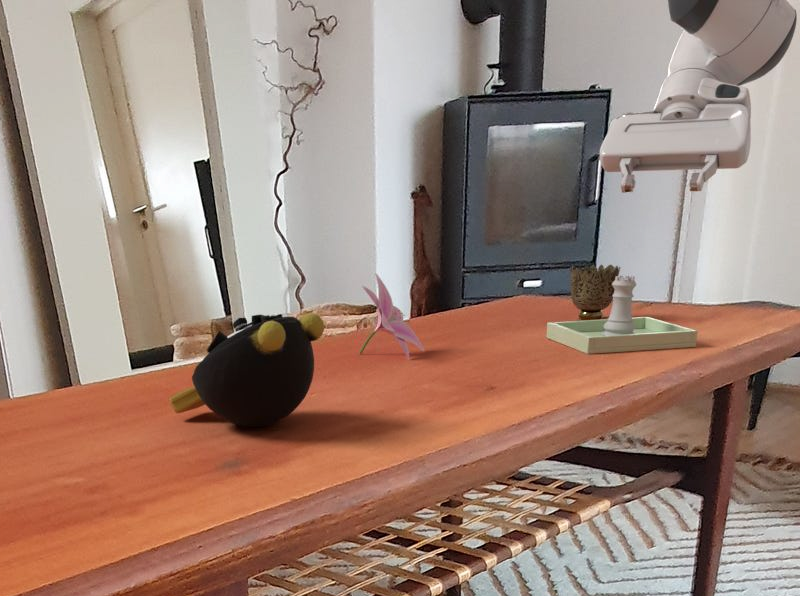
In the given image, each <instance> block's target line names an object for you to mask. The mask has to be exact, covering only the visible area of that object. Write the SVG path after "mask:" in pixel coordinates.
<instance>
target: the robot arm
mask: <svg viewBox="0 0 800 596" xmlns="http://www.w3.org/2000/svg"><path fill="white" fill-rule="evenodd" d="M667 9H668V16H669V20H670V21H671V22H672V23H673V24H675V25H676V26H678V27H679V28H681V30H683V32H682V33H681V35H680V37H679V39H678V41H677V44H676V46H675V48H674V51H673V53H672V55H671V59H670V61H669V63H668V71H667V72H668V73H667V76H666V78H665V79H664V81H663V82H662V85H661V87H660V91H659V93H658V97H657V100H656V103H655V105H654V108H653V110H652V111H651V110H649V111H640V112H625V113H623V114H622V115H621V116H618V117H616V118H614V119H612V120H611V122H610V124H609V127H608V130H607V133H606V135H605V137H604V140H603V141H602V143H601V146H600V148H599V161H600V164H601V167H602V169H603V170H604V171H605V172H606V173H620V174H621V178H622V180H621V182H620V190H621V193H634V189H635V188H636V185H637V184H636V180H635V179H636V177H635V174H633V172H655V171H656V172H657V171H658V172H659V171H661V172H663V171H694V170H697V171H698V170H699V172H692V173H691V176H690V177H691V178H690V180H689V183H688V185H689V192H702V190H703V188H704V184H705V183H706V182H707V181H708V180H710V179H711V178H712V177H713V176H714V175H715V174H716V173H717V171H718V170H727V169H728V170H730V169H732V170H733V169H739V168H741V167H742V166H744V165H745V164H746V163H747V162H748V159H749V155H750V150H751V141H752V126H751V124H752V123H751V118H752V103H751V96H750V95H751V94H750V90H749V88H747V87H745V86H743V85H746V84H749V83H751V82H754V81H757V80H759V79H761V78H762V77H764V76H766V75H767V74H768V73H769V72H771V71H772V70H773V69H774V68H776V67H777V65H779V64H780V62H781V61H782V59H783V58H784V56H785V55H786V53H787V52H788V50H789V48H790V45H791V43H792V40H793V37H794V35H795V32H796V27H797V20H798V19H797V18H798V15H797V10H796V9H795V8H794V7H793V6H792V4H791V3H790V2H789V1H788V0H667Z"/></svg>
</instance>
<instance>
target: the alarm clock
mask: <svg viewBox="0 0 800 596" xmlns="http://www.w3.org/2000/svg"><path fill="white" fill-rule="evenodd" d="M232 327H233V329H234V330H235V331H234V332H232V333H231V334H229V335H226V334H225V333H223V332H222V331H220V330H219V331H218V332H217V334H216V335H215V336H214V338H213V339H212V340H211V342H210V344H209V345H208V347H207V349H206V352H207V354H206V355H205V356H204V358H203V359H202V360H201V361H200V362H199V363H198V364H197V365H196V366H195V368H194V370H193V374H192V375H191V380H192V384H193V386H191V387H189V388H186V389H184V390H183V391H181V392H179V393H176V394H175V395H173V396H171V397H169V403H170V406H171V408H172V410H173V411H174V412H175V413H176V414H181V413H186V412H188V411H192V410H196V409H199V408H201V407H204V406H206V407H207V409H209V410H210V411H212V413H214V414H215V415H217V417H219V418H221V419H222V420H224V421H227V422H228V423H231V424H234V425H237V426H242V427H248V428H249V427H263V426H268V425H272V424H275V423H277V422H279V421H281V420H283V419H285V418H287V417H288V416H289V415H290V414H292V413H293V412H294V411H295V410H297V408H298V407H299V406H300V405H301V404H302V402H303V401H304V399H305V398H306V397H307V395H308V393H309V391H310V389H311V385H312V382H313V378H314V372H315V356H314V348H313V344H312V342H314V341H318V340H319V339H320V338H321V337H322V336H323V334H324V331H325V325H324V320H323V319H322V318H321V316H320V315H319V314H317V313H314V312H310V313H304V314H303V315H302V317H300V319H298V318H297V317H295V316H283V314H282V313H279V314H276V315H275V314H272V315H270V314H267V315H264V314H254V315H251V322H248V319H247V318H246V317H238V318H237V319H236V320H235V321H234V322H232Z"/></svg>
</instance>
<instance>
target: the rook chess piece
mask: <svg viewBox="0 0 800 596" xmlns="http://www.w3.org/2000/svg"><path fill="white" fill-rule="evenodd" d="M635 279H636V278H635V276H634V275H625V277H623V275H619V276H615V281H614V282H613V283H612V285H613V287H614V289H615V292H614V294H613V295H612V296H613V299H612V306H611V309H610V314H609V315H608V316H609V317H608V318H607V319H608V321H607V322H606V323H605V324H604V329H605V330H606V331H605V332H604V333H602V334H603V336H608V335H624V334H635V333H634V332H633V330H634V329H635V328H636V326H635V324H634V323H633V318H634V317H633V315H632V314H633V313H632V302H633V298H634V294H633V290H634V289H635V287H636V286H637V282H636V281H635Z"/></svg>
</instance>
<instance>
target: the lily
mask: <svg viewBox="0 0 800 596" xmlns="http://www.w3.org/2000/svg"><path fill="white" fill-rule="evenodd" d="M375 278H376V282H377V283H376V284H377V288H378V289H377V290H378V292H377V293H378V296H377V295H376V294H375V292H374V291H372V290H371V289H369V288H367V286H364V285H362V286H361V287H362V289H363V290H364V291H365V293H366V294H367V296H369V298H370V299H371V301H372V302H373V303H374V305H375V307H376V309H377V324H376V328H375V329H374V330H373V331H372V332H371V334H369V336H368V338H367V339H366V341H365V342H364V344H363V346H362V348H361V349H360V350H359V355H362V354H363V352H364V350H365V348H366V346H367V344H369V341H370V340H371V338H373V336H374V335H375V334H376V333H377V332H380V331H381V332H384V333H387V334H389V335H392V336H393V337H395V339H396V340H397V341H398V343H399V345H400V347H401V349H402V350H403V352H404V354H405V357H406V358H407V360H410V351H409V347H408V344H407V342H409V343H411V344H413V345H415V346H416V347H418V348H419V349H420V350H422V351H423V352H425V348H424V347H423V344H422V343H421V341H420V339H419V338H418V336H417V335H416V333H415V331H414V330H413V329H412V328H411V327H410V326H409V325H408V324H407V323H405V321H404V316H405V314H404V313H403V312H402V311H401V309H400V308H398V307H397V306H395V305H394V303H393V299H392V296H391V295H390V292H389V290H388V288H387V286H386V285H385V283H384V281H383V280H382V279H381V278H380V276H379V275H378V274H377V273H375ZM406 341H407V342H406Z"/></svg>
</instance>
